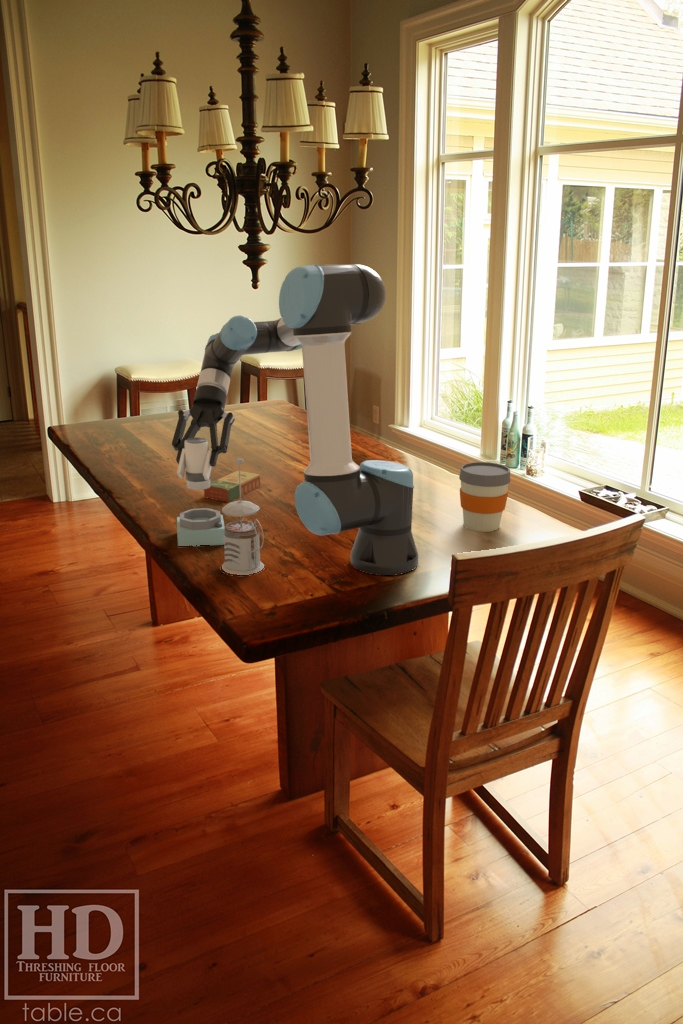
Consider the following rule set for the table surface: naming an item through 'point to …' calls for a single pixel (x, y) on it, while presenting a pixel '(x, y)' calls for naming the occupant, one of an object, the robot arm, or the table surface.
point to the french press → (239, 548)
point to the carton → (232, 486)
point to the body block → (200, 527)
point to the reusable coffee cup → (483, 494)
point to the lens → (196, 463)
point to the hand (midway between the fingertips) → (192, 476)
